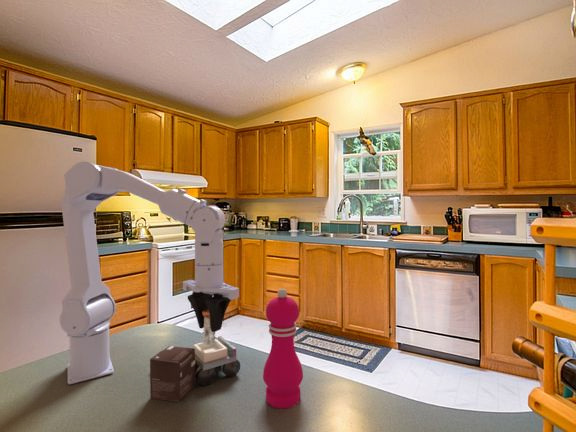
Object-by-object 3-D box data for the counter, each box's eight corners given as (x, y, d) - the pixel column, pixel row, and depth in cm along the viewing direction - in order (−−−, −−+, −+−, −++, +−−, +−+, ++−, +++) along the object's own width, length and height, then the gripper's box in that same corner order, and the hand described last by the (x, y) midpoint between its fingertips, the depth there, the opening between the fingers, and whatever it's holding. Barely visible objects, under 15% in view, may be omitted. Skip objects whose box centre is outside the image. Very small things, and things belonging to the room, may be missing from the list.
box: (178, 403, 56) (178, 362, 56) (149, 398, 58) (148, 358, 58) (196, 385, 62) (195, 348, 62) (169, 381, 64) (168, 345, 64)
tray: (193, 351, 67) (193, 344, 67) (216, 346, 70) (216, 338, 70) (203, 362, 63) (203, 354, 63) (227, 356, 65) (227, 348, 65)
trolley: (185, 371, 67) (185, 344, 67) (225, 360, 73) (224, 334, 73) (198, 388, 61) (198, 358, 61) (240, 374, 66) (240, 347, 66)
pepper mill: (297, 385, 62) (296, 283, 62) (307, 407, 55) (307, 292, 55) (260, 389, 60) (259, 285, 60) (266, 413, 53) (265, 294, 53)
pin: (199, 340, 67) (200, 308, 67) (214, 337, 69) (215, 306, 68) (203, 346, 64) (204, 313, 64) (218, 343, 66) (219, 311, 66)
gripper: (170, 263, 67) (171, 327, 67) (220, 269, 59) (221, 342, 59) (197, 258, 73) (197, 318, 73) (245, 264, 65) (246, 330, 65)
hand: (210, 328), depth 66 cm, fingers closed on pin, 3 cm apart
